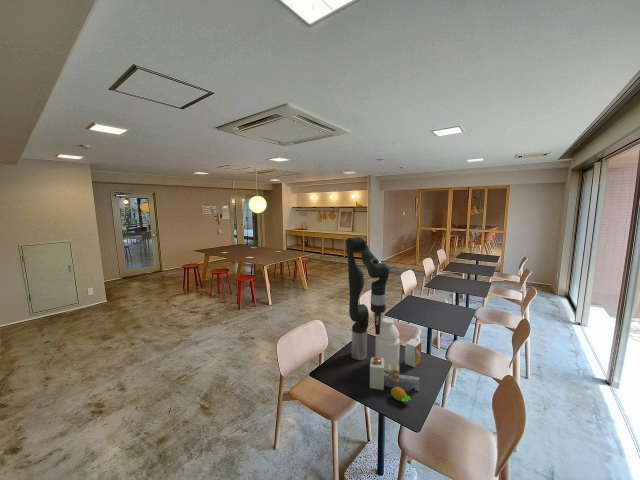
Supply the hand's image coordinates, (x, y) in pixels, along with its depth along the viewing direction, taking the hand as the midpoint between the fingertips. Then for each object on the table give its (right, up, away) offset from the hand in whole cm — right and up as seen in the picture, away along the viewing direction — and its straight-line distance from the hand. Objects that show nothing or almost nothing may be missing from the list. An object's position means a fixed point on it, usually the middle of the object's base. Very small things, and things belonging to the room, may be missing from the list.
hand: (377, 333), depth 139 cm
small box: (+26, -25, +22) cm, 42 cm away
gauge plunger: (0, -23, +3) cm, 23 cm away
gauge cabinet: (0, -28, +4) cm, 28 cm away
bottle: (+10, -26, +20) cm, 34 cm away
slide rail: (+12, -28, 0) cm, 30 cm away
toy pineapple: (+9, -29, -9) cm, 32 cm away
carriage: (+9, -23, +1) cm, 25 cm away
